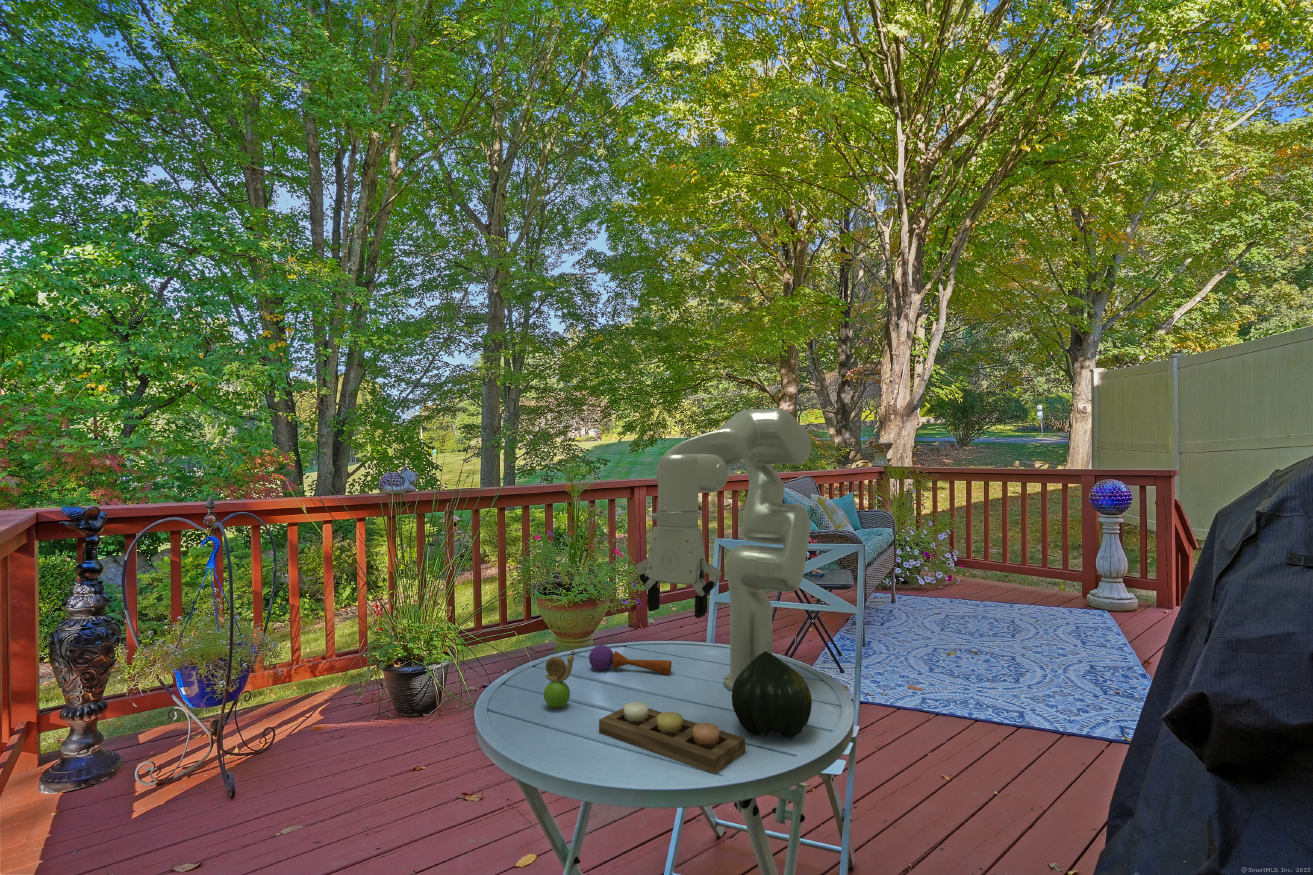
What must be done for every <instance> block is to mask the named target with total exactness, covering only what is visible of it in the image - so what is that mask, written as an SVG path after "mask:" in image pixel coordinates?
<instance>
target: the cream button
mask: <svg viewBox="0 0 1313 875" xmlns="http://www.w3.org/2000/svg"><path fill="white" fill-rule="evenodd" d="M623 708H624V717H625V718H626V719H627V720H631V721H641V720H644V719H646V718H648V708H649V705H648V704H647V703H645V702H642V701H641V702H640V701H630V702H628V703H626V704H624V705H623Z"/></svg>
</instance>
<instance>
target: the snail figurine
mask: <svg viewBox="0 0 1313 875" xmlns="http://www.w3.org/2000/svg"><path fill="white" fill-rule="evenodd" d="M570 653H571V655H568V657H567V658H566V660H567V663H566V662H565V660H564V659H562V658H561V657H559V656H551V657H550V658H548V659H547V661H546V662H545V671H546V673H547V674H545V678H546V679H547V680H548V681H550V682H549V683H548V684H547V685H546V686H545V688H544V691H543V698H544V699H543V700H544V702H545V703H546V704H547V705H548V706H549V707H550V708H553V709H559V708H562V707H564V706H566V704H568V702H569V701H570V696H571V690H570V687H569V685H568V684H567V683H566V682H565V681H566V680H568V679H569V677H570V675H571V673H572V670H573V666H574V665H573V664H574V661H575V657H574V654H575V650H574V649H572V650H571V651H570Z"/></svg>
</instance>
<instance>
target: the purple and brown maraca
mask: <svg viewBox="0 0 1313 875" xmlns="http://www.w3.org/2000/svg"><path fill="white" fill-rule="evenodd" d="M588 661H589V664H590V666H591V667H592V668H593V669H594V670H596V671H601V672H604V671H607V670H609V669H610V668H611V667H612V669H613V670H615V669H617V668H621V667H624V666H626V665H629V666H633V667H638V668H642V669H645V670H649V671H652V672H657V673H660V674H664V675H668V676H669V675H670V674H671V671H672V663H673V662H672V660H669V659H668V660H666V659H659V660H658V659H632V658H631V659H629V658H627V657H626V656H624V655H623V654H622V653H620V652H619V651H616V650H615V651H614V652H613V650H612V649H611V648H610V647H608V646H607V645H605V644H599V645H596V646H595V647H594V648H592V649H591V650H590V653H589V656H588Z"/></svg>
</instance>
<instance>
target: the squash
mask: <svg viewBox="0 0 1313 875" xmlns="http://www.w3.org/2000/svg"><path fill="white" fill-rule="evenodd" d="M731 705H732V708H733V711H734V714H735V716H736V718H737V720H738V721H739V724H740V726H741V727H742V729H743V730H745V732H747V733H748V734H749V735H754V736H761V735H763V736H768V735H770V734H771V733H773V734H774V735H780V736H782V737H784V738H786V737H788V738H787V739H791V738H794V737H797V736H799V735H800V734H801V732H802V731H803V729H804V727H805V726H806V725H807V724H808V721H809V720H810V717H811V713H812V708H813V707H812V705H813V700H812V694H811V690H810V688H809V686H808V683H807V681H806V680H805V678H803V676H802V675H801V674H800V673H799V672H797V671H796V670H795V669H794V668H793V667H791V666H790V665H789V664H788V663H786V662H784V661H783V660H781V659H780V658H779V657H777V656H776V655H774V654H773V653H772V654H770V653H768V652H767V651H764V652H763V653H761V654H759V655H758V656H757V657H756V658H755V659H754V660H753V661H752V662H751V663H750V664H749V665H748V666H747V667H746V668H744V669H743V671H742V672H741V673H740V674H739V675H738V677H737V678H736V680H735V682H734V684H733V689H732V690H731Z"/></svg>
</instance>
